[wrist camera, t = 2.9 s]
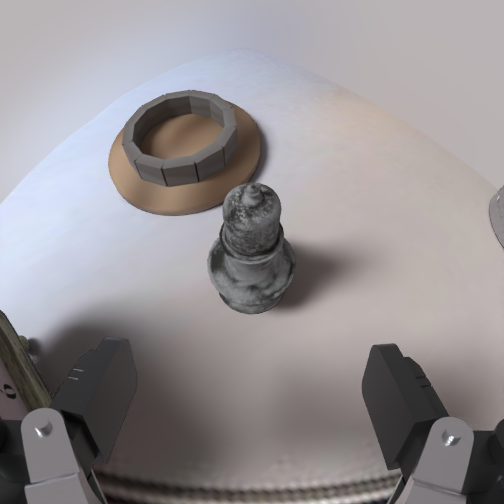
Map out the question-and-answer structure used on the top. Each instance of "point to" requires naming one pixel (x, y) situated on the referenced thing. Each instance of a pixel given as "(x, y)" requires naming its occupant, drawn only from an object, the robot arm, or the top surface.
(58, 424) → the robot arm
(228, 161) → the socket stand
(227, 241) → the grey tall piece
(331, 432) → the top surface
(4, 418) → the tabletop clock
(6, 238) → the top surface
